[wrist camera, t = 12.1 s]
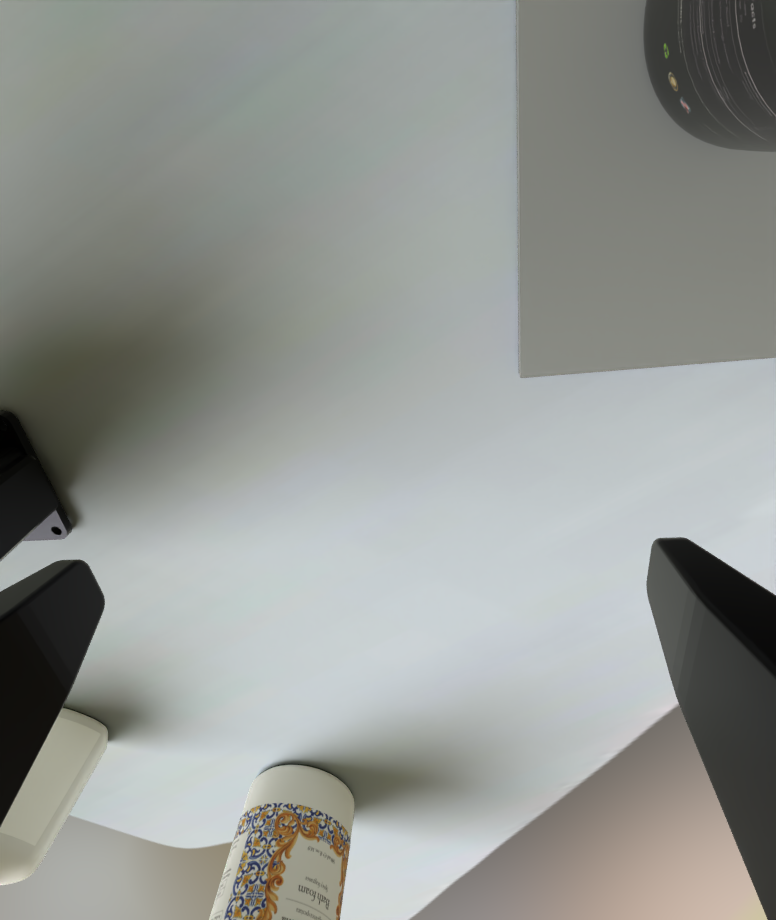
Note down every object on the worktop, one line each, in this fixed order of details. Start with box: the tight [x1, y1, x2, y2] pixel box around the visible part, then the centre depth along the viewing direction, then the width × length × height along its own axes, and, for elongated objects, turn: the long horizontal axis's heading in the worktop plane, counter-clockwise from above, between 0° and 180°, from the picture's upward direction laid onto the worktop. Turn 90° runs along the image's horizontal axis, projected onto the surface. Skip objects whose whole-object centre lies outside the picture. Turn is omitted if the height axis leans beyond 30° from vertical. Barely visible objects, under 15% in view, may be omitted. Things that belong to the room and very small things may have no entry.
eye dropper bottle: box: [0, 708, 108, 885], centre depth 29 cm, size 4×6×12 cm
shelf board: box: [516, 0, 776, 378], centre depth 15 cm, size 12×14×3 cm
